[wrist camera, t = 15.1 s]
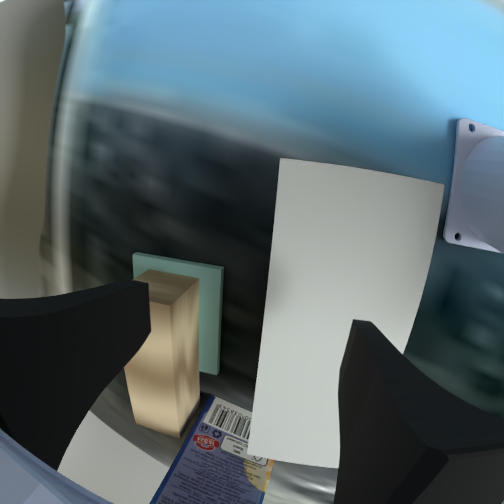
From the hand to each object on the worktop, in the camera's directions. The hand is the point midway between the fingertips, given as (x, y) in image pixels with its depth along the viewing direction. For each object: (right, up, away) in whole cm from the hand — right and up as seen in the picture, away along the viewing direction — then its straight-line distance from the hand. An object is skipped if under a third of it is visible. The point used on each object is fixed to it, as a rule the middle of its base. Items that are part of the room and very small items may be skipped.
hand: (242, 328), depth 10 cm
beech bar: (-6, -5, +13) cm, 15 cm away
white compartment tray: (+6, -1, +10) cm, 12 cm away
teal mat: (-5, -2, +13) cm, 14 cm away
